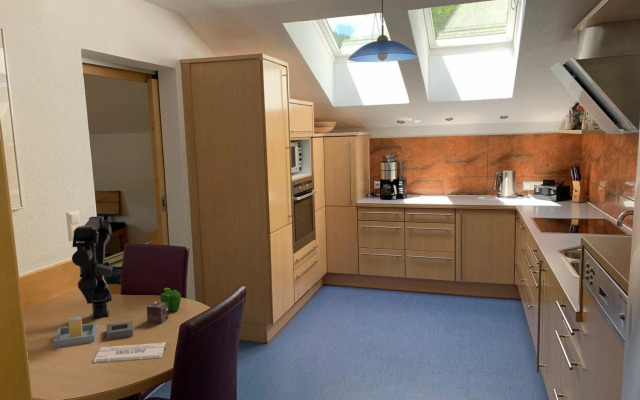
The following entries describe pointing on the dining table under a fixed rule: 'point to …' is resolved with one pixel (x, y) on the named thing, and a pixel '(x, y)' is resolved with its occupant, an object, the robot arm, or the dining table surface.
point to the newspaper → (129, 352)
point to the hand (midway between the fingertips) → (90, 299)
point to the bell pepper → (171, 299)
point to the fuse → (75, 327)
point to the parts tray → (65, 340)
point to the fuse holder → (119, 330)
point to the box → (157, 312)
